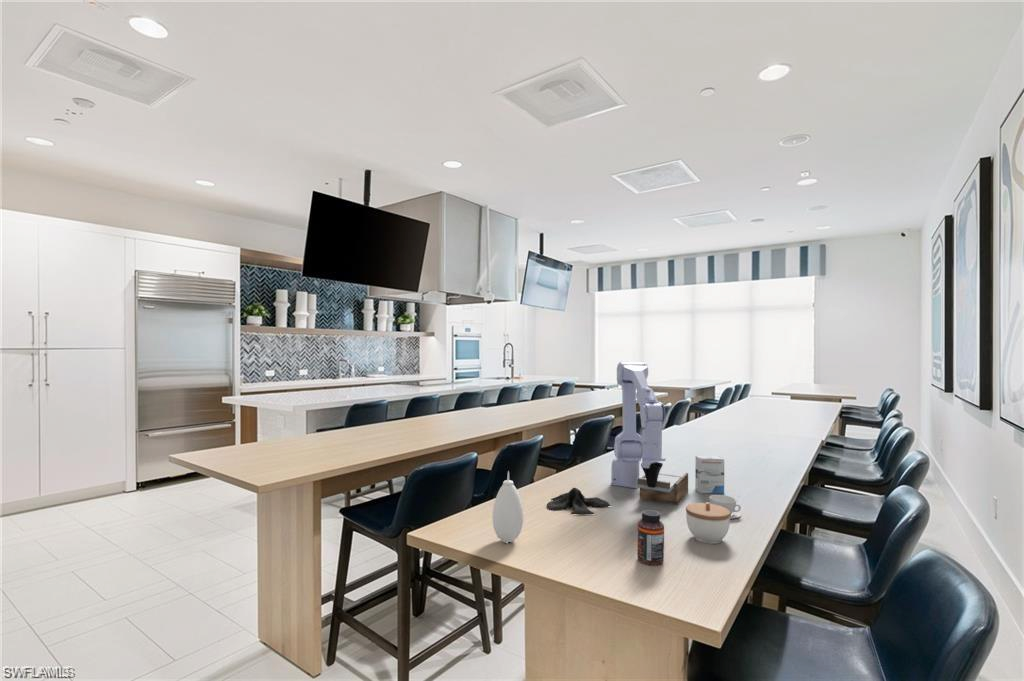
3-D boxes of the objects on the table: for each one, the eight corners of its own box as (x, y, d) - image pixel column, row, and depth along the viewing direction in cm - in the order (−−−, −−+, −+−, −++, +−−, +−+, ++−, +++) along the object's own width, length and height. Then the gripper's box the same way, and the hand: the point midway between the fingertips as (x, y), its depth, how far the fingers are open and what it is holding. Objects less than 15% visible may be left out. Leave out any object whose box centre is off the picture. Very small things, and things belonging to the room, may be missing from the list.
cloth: (616, 504, 161) (616, 484, 161) (596, 521, 144) (596, 500, 145) (552, 493, 172) (552, 475, 172) (527, 508, 155) (527, 488, 155)
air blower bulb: (493, 535, 132) (494, 466, 132) (523, 536, 132) (523, 467, 132) (491, 547, 124) (491, 474, 124) (523, 548, 124) (523, 475, 124)
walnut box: (639, 498, 164) (639, 478, 164) (652, 486, 178) (652, 468, 178) (677, 505, 158) (677, 484, 158) (688, 492, 172) (688, 473, 172)
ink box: (720, 489, 175) (720, 455, 175) (724, 494, 170) (724, 459, 170) (694, 488, 176) (694, 455, 176) (698, 493, 171) (698, 458, 171)
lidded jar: (731, 550, 124) (731, 512, 124) (685, 543, 128) (685, 506, 128) (728, 534, 134) (729, 499, 134) (686, 529, 138) (686, 494, 138)
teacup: (699, 514, 150) (699, 498, 150) (712, 506, 158) (712, 491, 158) (734, 522, 144) (734, 506, 144) (745, 514, 151) (746, 498, 151)
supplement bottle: (633, 555, 120) (634, 508, 120) (658, 555, 121) (658, 507, 121) (642, 567, 114) (642, 516, 114) (667, 566, 115) (668, 516, 115)
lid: (637, 487, 159) (637, 478, 159) (651, 476, 172) (651, 468, 172) (669, 492, 154) (669, 483, 154) (680, 480, 167) (680, 472, 167)
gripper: (659, 448, 147) (658, 495, 147) (671, 440, 159) (670, 483, 159) (635, 445, 150) (634, 491, 150) (648, 437, 163) (648, 479, 163)
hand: (651, 486), depth 155 cm, fingers closed
